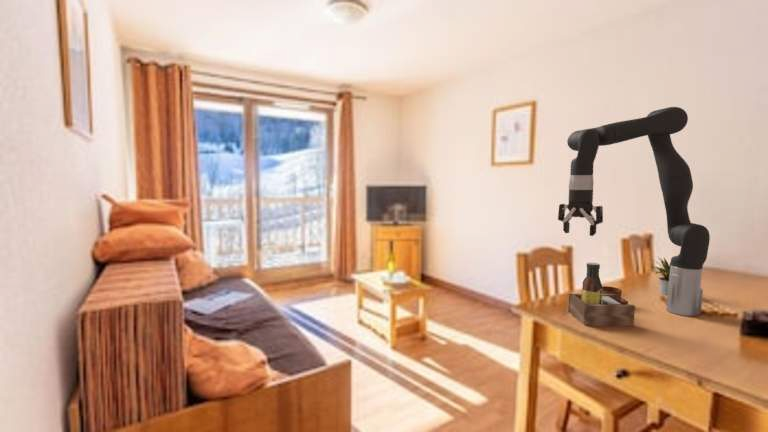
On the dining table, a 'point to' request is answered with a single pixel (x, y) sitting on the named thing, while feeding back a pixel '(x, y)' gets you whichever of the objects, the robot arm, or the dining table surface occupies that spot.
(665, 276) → the house plant
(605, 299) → the offcut top
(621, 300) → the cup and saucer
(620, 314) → the wooden box
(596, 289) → the sauce bottle
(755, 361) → the dining table surface
